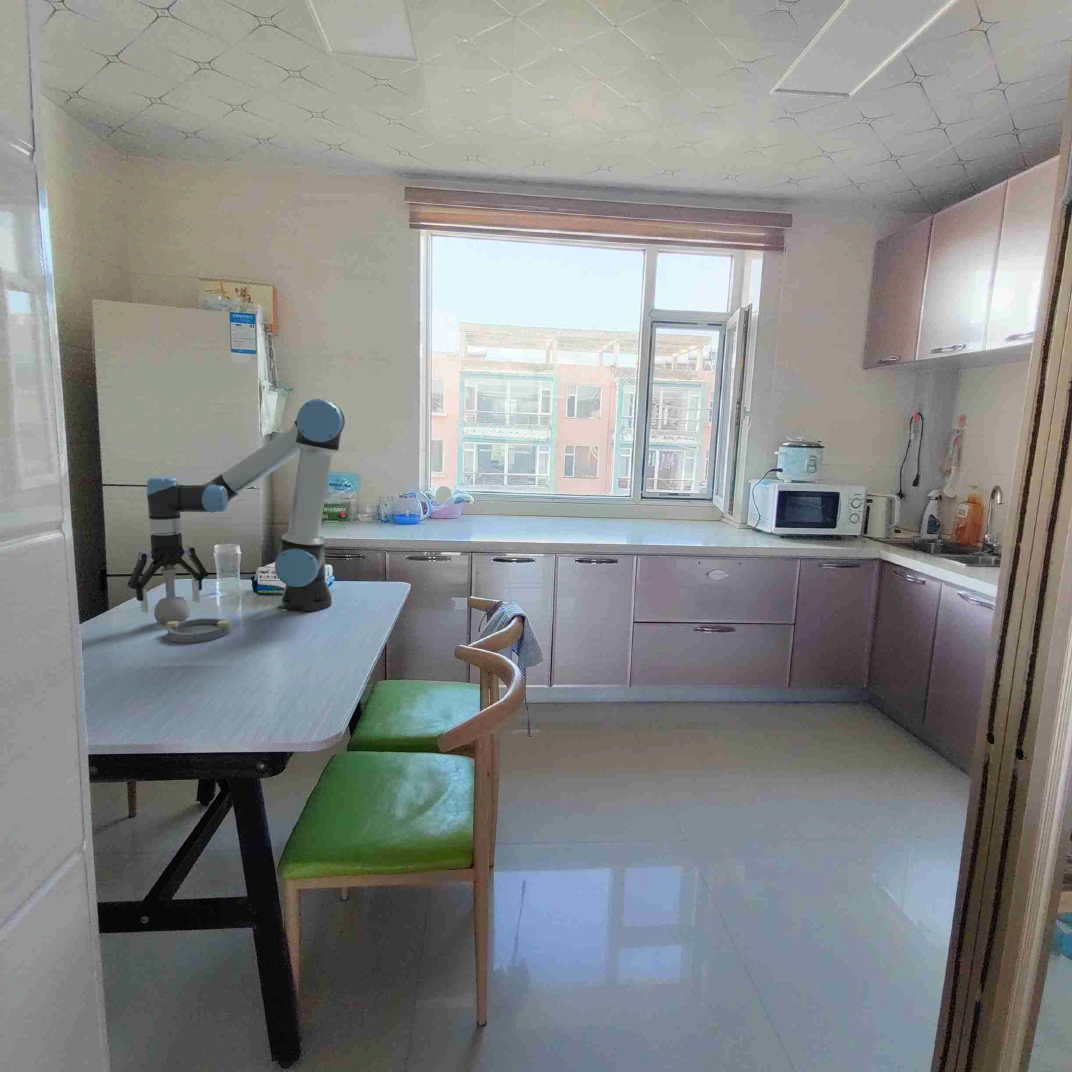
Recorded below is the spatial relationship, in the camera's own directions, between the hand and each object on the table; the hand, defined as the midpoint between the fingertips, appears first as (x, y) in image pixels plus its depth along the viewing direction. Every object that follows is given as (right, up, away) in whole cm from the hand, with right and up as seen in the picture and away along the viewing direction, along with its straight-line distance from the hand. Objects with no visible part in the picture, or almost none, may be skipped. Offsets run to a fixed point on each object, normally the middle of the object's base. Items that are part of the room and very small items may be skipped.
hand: (171, 606), depth 174 cm
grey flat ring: (+12, -7, -8) cm, 16 cm away
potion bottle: (0, -5, +1) cm, 5 cm away
